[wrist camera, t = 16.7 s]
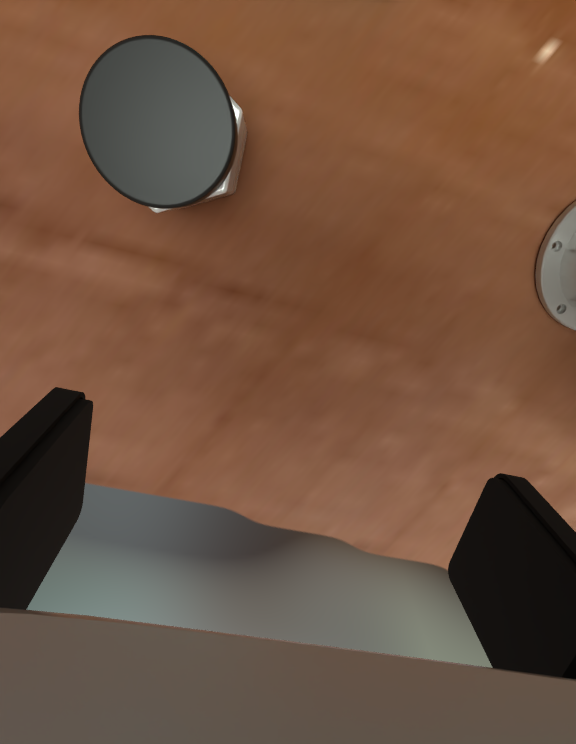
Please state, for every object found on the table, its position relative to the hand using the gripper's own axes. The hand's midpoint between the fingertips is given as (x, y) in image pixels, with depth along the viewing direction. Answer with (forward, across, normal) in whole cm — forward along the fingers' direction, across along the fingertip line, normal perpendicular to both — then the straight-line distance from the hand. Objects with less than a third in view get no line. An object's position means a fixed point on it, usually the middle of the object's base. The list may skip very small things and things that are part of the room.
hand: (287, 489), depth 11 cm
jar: (+31, +8, -8) cm, 33 cm away
